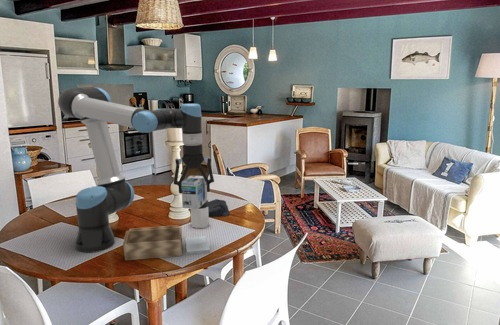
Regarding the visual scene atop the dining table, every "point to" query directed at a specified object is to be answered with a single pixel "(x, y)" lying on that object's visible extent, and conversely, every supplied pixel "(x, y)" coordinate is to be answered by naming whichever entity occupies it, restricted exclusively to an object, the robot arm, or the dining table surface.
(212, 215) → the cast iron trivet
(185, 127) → the robot arm
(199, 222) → the jar
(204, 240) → the tile
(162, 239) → the carton
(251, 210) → the dining table surface
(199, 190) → the light bulb box
